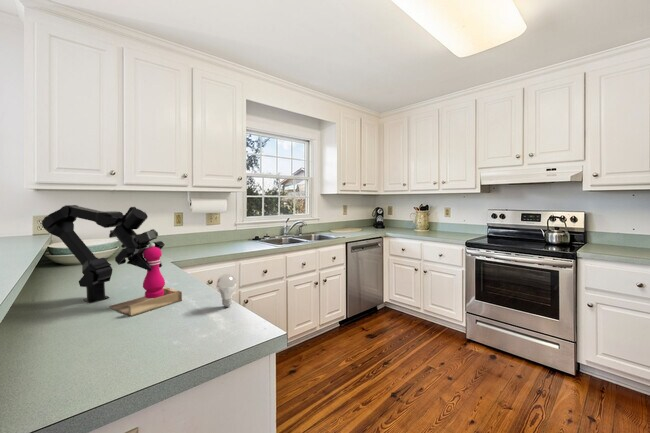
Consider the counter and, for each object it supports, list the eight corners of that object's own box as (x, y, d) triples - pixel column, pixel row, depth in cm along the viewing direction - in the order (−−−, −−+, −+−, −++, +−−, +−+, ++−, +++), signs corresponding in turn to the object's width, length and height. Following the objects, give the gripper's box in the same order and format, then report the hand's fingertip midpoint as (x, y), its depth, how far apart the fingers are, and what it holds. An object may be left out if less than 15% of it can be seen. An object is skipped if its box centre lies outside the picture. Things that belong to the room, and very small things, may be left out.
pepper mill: (165, 297, 112) (162, 243, 110) (142, 300, 109) (139, 245, 107) (166, 291, 119) (163, 240, 117) (144, 294, 116) (141, 242, 114)
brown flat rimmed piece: (109, 307, 110) (109, 297, 110) (159, 293, 125) (159, 285, 125) (131, 316, 101) (130, 306, 101) (182, 300, 116) (181, 291, 116)
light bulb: (219, 303, 113) (218, 272, 112) (238, 303, 113) (238, 271, 112) (214, 310, 106) (213, 277, 105) (234, 310, 106) (234, 276, 105)
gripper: (120, 225, 103) (150, 259, 102) (159, 220, 122) (185, 249, 120) (101, 247, 105) (131, 280, 104) (143, 239, 124) (168, 267, 122)
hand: (156, 268), depth 113 cm, fingers closed on pepper mill, 5 cm apart
